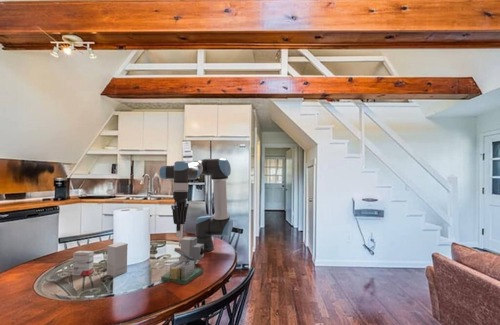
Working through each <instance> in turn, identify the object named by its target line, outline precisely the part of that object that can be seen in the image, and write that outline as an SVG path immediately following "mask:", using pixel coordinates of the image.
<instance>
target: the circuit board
mask: <svg viewBox="0 0 500 325" xmlns="http://www.w3.org/2000/svg"><path fill="white" fill-rule="evenodd" d="M203 273H204V268H199V267H196V263H195V261H191V260H186V261H185V263H183V260H179V259H178V260H177V261H175V262H173V263H171V264H170V265H169V272H167V273H165V274H163V275H162V276H160V281H161V282H168V283H175V284H180V285H185V286H186V285H188V284H189V283H191V281H193V280H194V279H196V278H197V277H199V276H200V275H202V274H203Z"/></svg>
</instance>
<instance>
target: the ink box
mask: <svg viewBox="0 0 500 325" xmlns="http://www.w3.org/2000/svg"><path fill="white" fill-rule="evenodd" d="M72 255H73V256H72V276H84V277H85V276H87V277H89V276H90V275H91V274H93V273H94V261H95V260H94V259H95V258H94V256H95V251H94V250H77V251H75V252H73V254H72Z"/></svg>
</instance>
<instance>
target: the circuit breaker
mask: <svg viewBox="0 0 500 325" xmlns="http://www.w3.org/2000/svg"><path fill="white" fill-rule="evenodd" d="M179 247H180V249H182V251H183V252H185V253H186V254H188V255H190V256H191V257H194V260H191V261H195V264H196V263H197V261H199V260H201V259H202V258H204V254H205V253H206V251H205V250H204V244H197V237H196V236H182V237H180V239H179V244H178V248H179ZM179 260H183V263H185V261H186V260H187V258H185V257H184V256H182V255H180V254H179V256H178V261H179Z"/></svg>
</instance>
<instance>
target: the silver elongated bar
mask: <svg viewBox="0 0 500 325" xmlns="http://www.w3.org/2000/svg"><path fill="white" fill-rule="evenodd" d="M174 252H175V253H177V254H179V256H180V255H182V256H184V257H185V258H187V260H194V257H191V256H190V255H188V254H186V253H185V252H183V251H182V249H181V247H180V248H179V247H174Z"/></svg>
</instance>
